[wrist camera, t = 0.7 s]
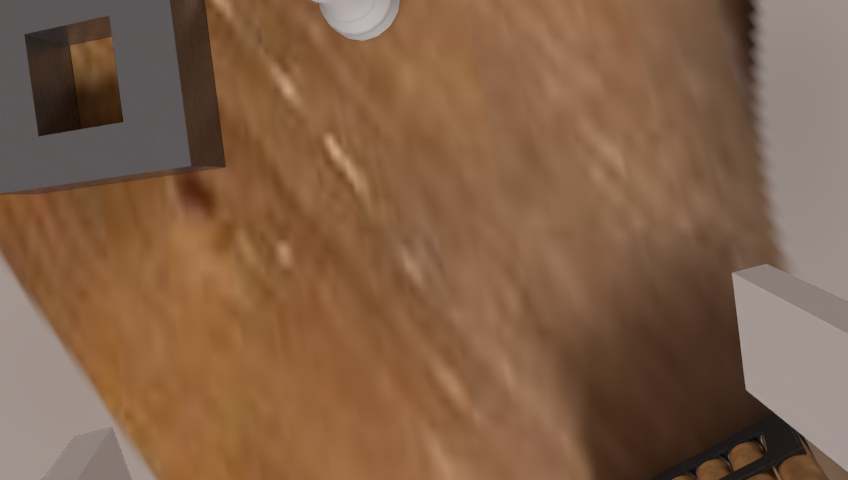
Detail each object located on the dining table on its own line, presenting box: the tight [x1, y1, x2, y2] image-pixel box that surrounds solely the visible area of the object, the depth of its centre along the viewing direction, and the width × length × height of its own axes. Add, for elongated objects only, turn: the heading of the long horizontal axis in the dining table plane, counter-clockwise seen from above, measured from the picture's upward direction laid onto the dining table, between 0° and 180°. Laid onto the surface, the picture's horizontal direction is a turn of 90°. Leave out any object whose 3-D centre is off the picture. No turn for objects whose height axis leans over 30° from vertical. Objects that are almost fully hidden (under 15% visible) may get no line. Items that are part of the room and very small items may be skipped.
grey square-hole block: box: [0, 0, 225, 195], centre depth 43 cm, size 12×14×4 cm
